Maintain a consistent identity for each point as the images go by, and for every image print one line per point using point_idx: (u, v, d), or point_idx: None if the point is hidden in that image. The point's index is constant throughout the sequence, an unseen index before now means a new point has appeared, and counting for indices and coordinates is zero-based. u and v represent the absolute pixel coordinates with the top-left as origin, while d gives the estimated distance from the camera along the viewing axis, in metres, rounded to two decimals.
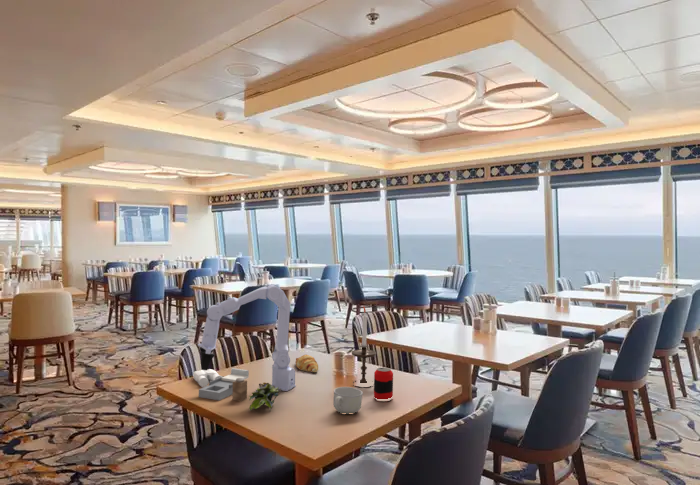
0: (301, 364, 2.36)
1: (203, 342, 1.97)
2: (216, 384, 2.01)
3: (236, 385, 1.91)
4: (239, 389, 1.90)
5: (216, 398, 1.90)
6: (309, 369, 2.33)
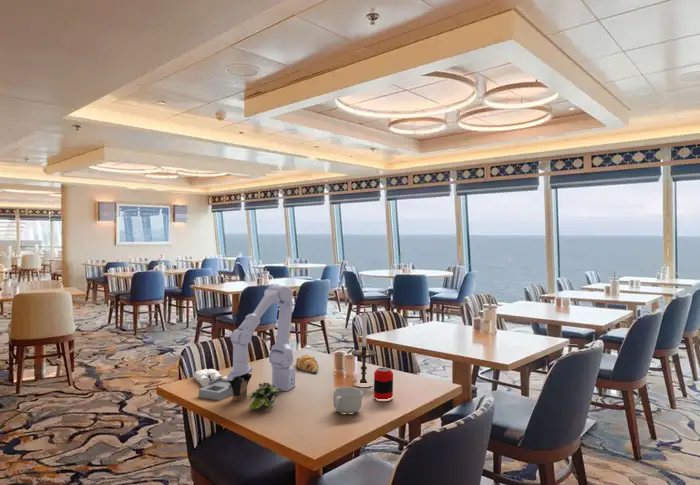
0: (301, 364, 2.36)
1: None
2: (216, 384, 2.01)
3: None
4: None
5: (216, 398, 1.90)
6: (309, 369, 2.33)
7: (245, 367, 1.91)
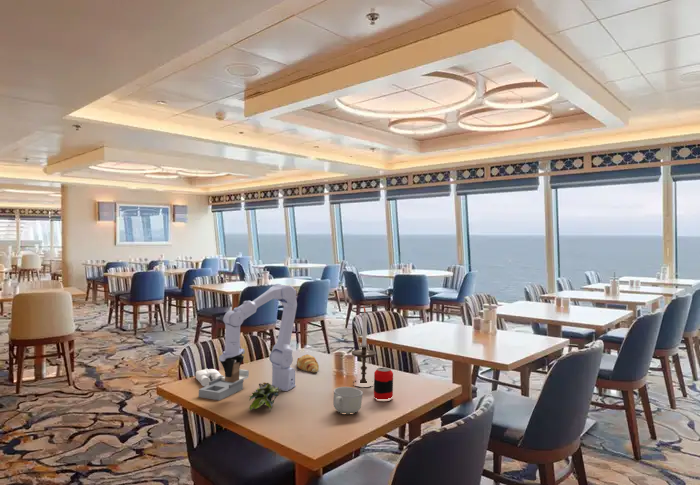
0: (301, 364, 2.36)
1: (225, 349, 1.92)
2: (216, 384, 2.01)
3: None
4: None
5: (216, 398, 1.90)
6: (309, 369, 2.33)
7: (237, 348, 1.92)
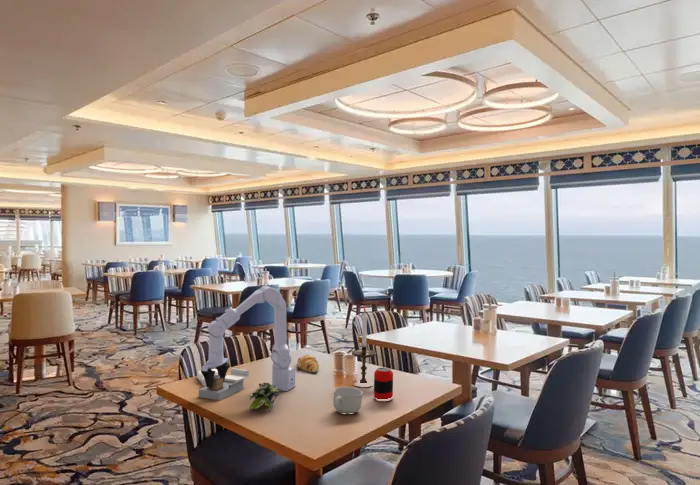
0: (302, 364, 2.36)
1: None
2: None
3: None
4: (215, 386, 1.93)
5: (216, 398, 1.90)
6: (309, 369, 2.33)
7: (220, 358, 1.94)
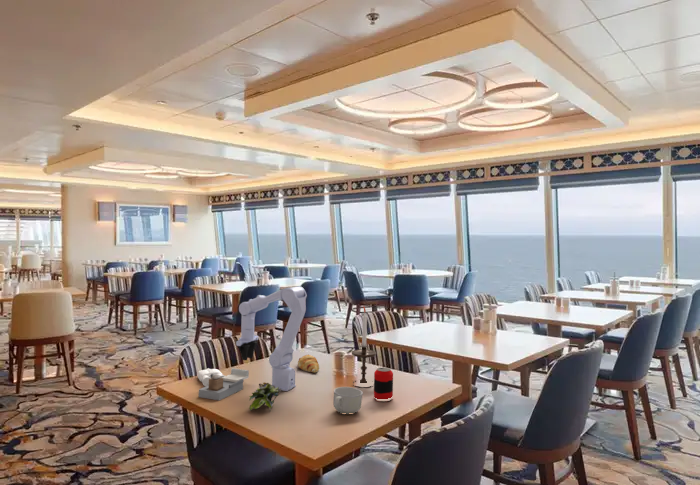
0: (302, 364, 2.36)
1: (241, 335, 2.16)
2: None
3: (212, 383, 1.94)
4: (215, 386, 1.93)
5: (216, 398, 1.90)
6: (309, 369, 2.33)
7: (252, 335, 2.15)
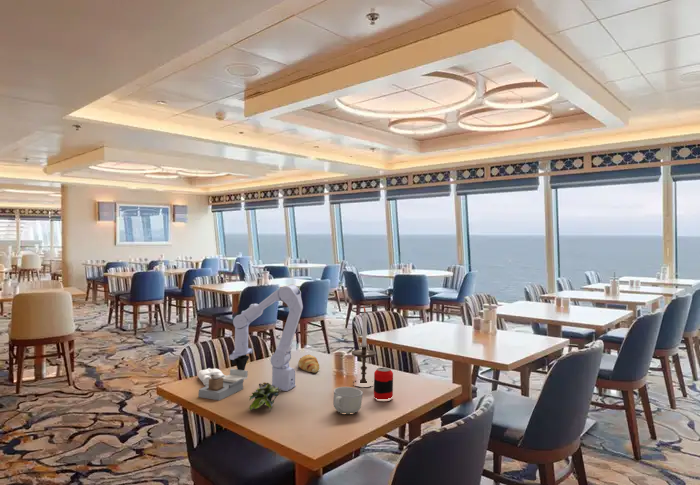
0: (302, 364, 2.36)
1: None
2: None
3: (212, 383, 1.94)
4: (215, 386, 1.93)
5: (216, 398, 1.90)
6: (309, 369, 2.32)
7: (246, 348, 2.11)
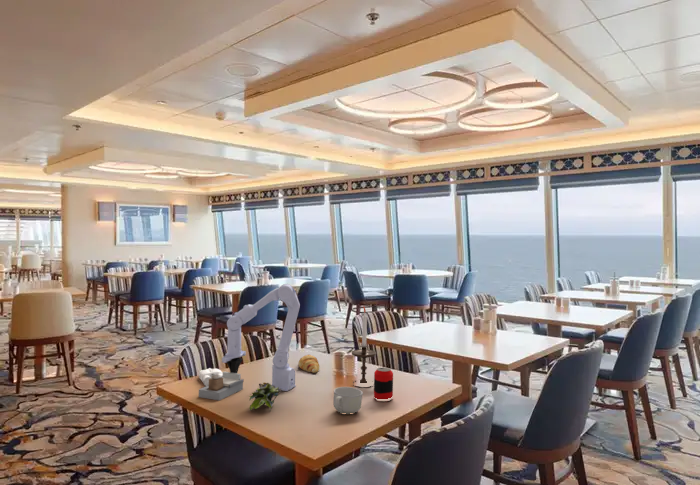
0: (302, 364, 2.36)
1: (227, 351, 2.06)
2: None
3: (212, 383, 1.94)
4: (215, 386, 1.93)
5: (216, 398, 1.90)
6: (309, 369, 2.32)
7: (239, 351, 2.06)
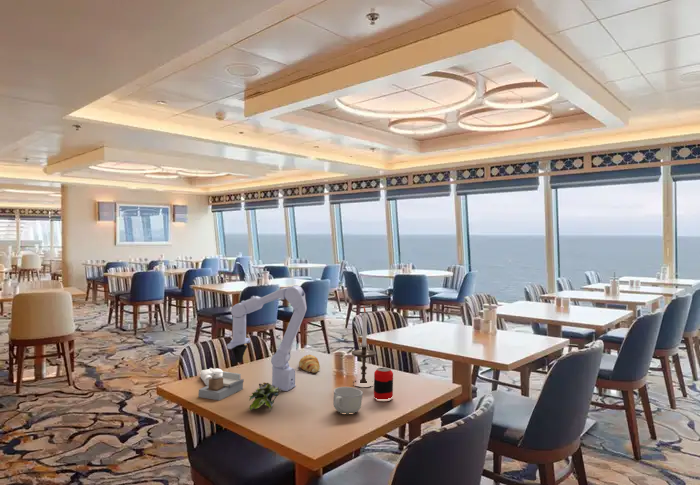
0: (303, 364, 2.36)
1: (232, 338, 2.10)
2: None
3: (212, 383, 1.94)
4: (215, 386, 1.93)
5: (216, 398, 1.90)
6: (309, 369, 2.32)
7: (244, 337, 2.09)
